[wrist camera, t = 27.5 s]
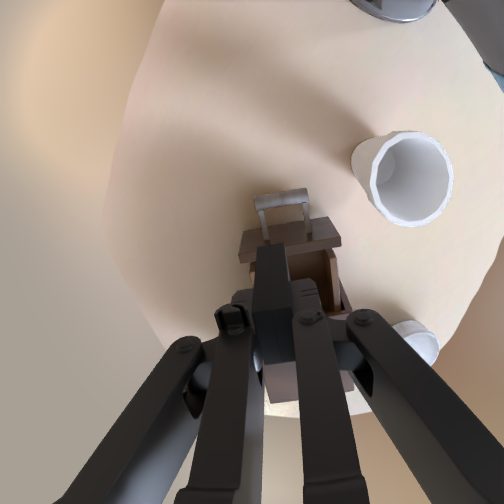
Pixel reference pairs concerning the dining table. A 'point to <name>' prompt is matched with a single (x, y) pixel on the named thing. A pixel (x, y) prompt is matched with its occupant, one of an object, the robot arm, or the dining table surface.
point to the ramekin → (419, 339)
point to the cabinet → (284, 374)
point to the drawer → (298, 246)
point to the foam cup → (404, 176)
